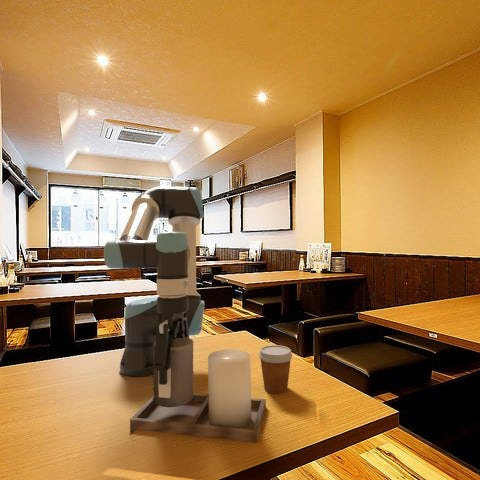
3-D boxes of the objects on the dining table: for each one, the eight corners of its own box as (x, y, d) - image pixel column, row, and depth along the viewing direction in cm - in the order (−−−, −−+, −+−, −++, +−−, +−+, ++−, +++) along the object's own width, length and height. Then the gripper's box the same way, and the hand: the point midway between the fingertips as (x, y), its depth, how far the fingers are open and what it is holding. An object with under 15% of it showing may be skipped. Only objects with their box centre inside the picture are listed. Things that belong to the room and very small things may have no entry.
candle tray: (130, 432, 76) (129, 419, 76) (158, 401, 91) (158, 390, 91) (256, 447, 70) (256, 433, 70) (265, 411, 85) (265, 399, 85)
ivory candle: (203, 429, 75) (202, 362, 75) (215, 407, 85) (214, 348, 85) (247, 434, 73) (246, 365, 73) (254, 411, 83) (253, 350, 83)
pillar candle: (144, 402, 79) (144, 339, 79) (169, 386, 88) (169, 329, 88) (179, 411, 75) (179, 344, 75) (201, 393, 84) (201, 333, 84)
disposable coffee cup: (270, 403, 89) (270, 358, 89) (252, 389, 97) (252, 347, 97) (299, 395, 93) (299, 352, 93) (280, 382, 102) (279, 342, 102)
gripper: (168, 304, 70) (169, 411, 70) (201, 289, 92) (202, 370, 92) (135, 303, 72) (136, 408, 72) (175, 288, 93) (176, 368, 93)
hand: (173, 387), depth 82 cm, fingers closed on pillar candle, 10 cm apart
